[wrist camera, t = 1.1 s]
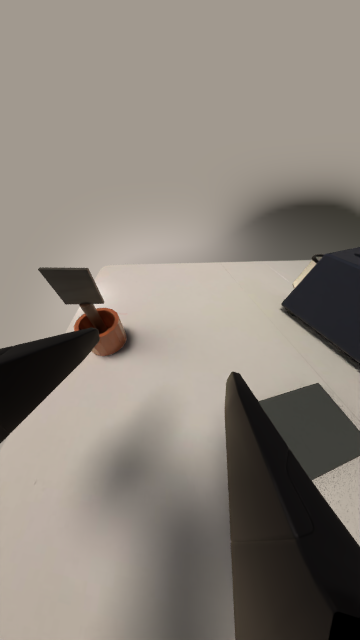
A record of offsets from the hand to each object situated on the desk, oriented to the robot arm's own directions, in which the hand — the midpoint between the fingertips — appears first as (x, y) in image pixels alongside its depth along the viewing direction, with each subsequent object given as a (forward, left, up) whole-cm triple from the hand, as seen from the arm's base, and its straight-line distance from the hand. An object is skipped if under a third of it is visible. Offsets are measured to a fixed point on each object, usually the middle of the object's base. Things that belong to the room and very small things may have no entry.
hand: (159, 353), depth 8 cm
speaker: (+33, -23, -15) cm, 43 cm away
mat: (+9, -18, -15) cm, 25 cm away
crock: (+1, +15, -15) cm, 21 cm away
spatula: (+1, +15, -14) cm, 21 cm away
